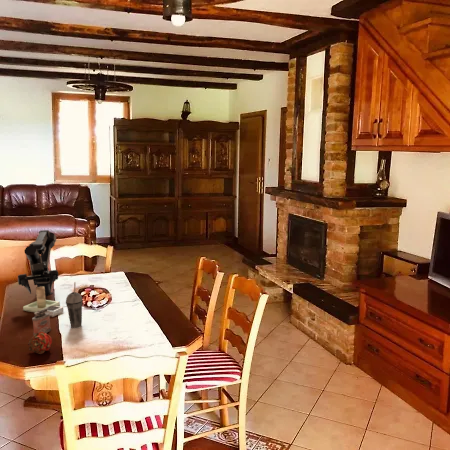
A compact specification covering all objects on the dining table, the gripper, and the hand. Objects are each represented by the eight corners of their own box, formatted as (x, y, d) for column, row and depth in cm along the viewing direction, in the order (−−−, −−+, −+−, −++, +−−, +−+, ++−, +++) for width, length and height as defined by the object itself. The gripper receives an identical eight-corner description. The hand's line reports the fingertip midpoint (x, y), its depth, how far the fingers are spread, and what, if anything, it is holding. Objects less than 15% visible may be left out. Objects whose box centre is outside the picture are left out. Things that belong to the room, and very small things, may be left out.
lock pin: (41, 305, 243) (40, 285, 242) (47, 306, 242) (46, 286, 240) (35, 307, 240) (33, 288, 238) (41, 308, 238) (40, 289, 237)
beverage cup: (64, 327, 214) (60, 284, 211) (76, 322, 221) (72, 279, 217) (76, 330, 211) (72, 286, 208) (88, 324, 217) (85, 281, 214)
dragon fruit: (40, 362, 184) (39, 354, 195) (57, 346, 187) (56, 339, 198) (24, 347, 182) (24, 340, 193) (42, 330, 184) (41, 324, 196)
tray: (41, 302, 249) (41, 299, 248) (59, 305, 244) (59, 301, 244) (23, 310, 238) (23, 306, 238) (42, 313, 233) (41, 309, 233)
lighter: (37, 336, 205) (34, 313, 204) (31, 334, 207) (29, 312, 205) (52, 330, 212) (50, 308, 210) (47, 328, 214) (45, 306, 212)
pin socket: (52, 310, 237) (52, 305, 237) (63, 312, 235) (63, 307, 234) (42, 314, 231) (41, 309, 231) (53, 316, 228) (52, 311, 228)
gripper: (16, 258, 236) (20, 286, 228) (56, 254, 244) (61, 280, 236) (16, 270, 244) (20, 298, 236) (55, 265, 252) (60, 291, 245)
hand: (40, 291), depth 238 cm, fingers open, 9 cm apart
